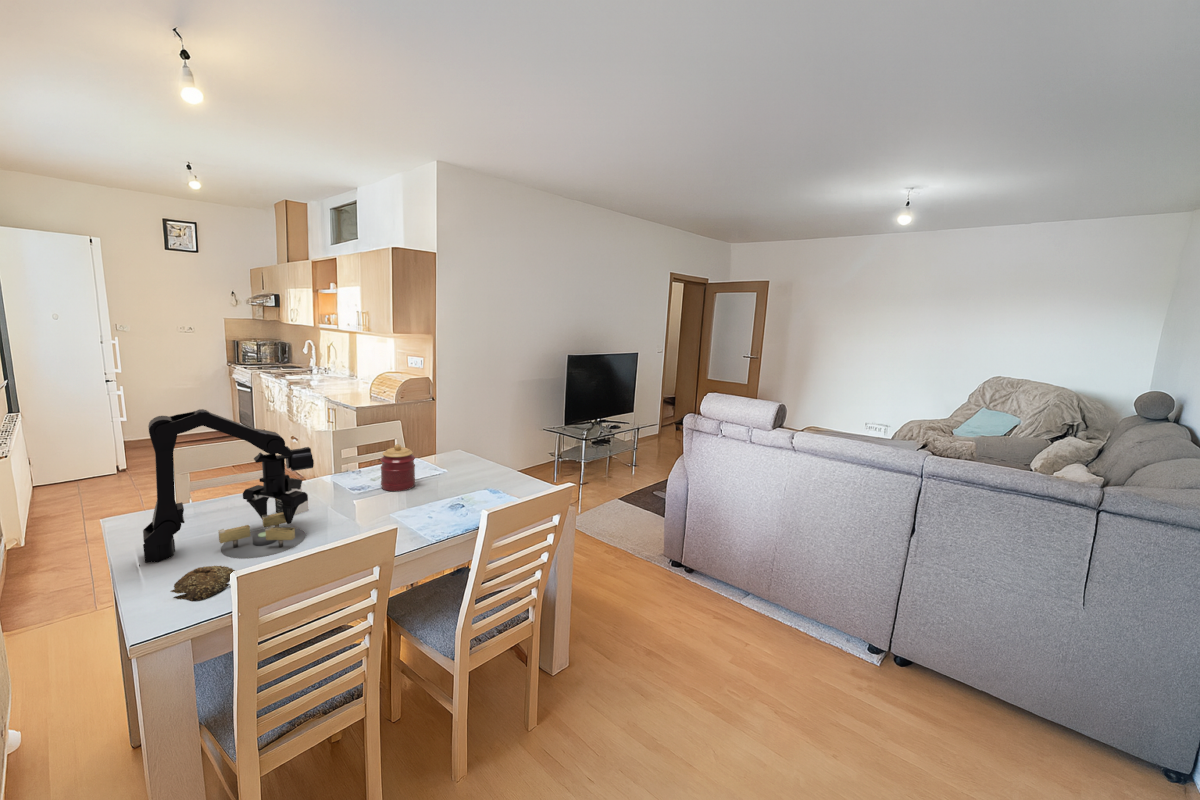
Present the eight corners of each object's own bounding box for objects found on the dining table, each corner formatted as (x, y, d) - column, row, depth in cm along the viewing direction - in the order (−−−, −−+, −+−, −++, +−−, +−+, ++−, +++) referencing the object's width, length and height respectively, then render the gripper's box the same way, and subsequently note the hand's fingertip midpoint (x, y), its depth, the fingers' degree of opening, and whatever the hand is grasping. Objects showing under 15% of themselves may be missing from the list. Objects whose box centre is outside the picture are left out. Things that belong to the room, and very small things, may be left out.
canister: (383, 481, 204) (382, 440, 201) (416, 480, 208) (415, 439, 205) (379, 492, 191) (378, 449, 189) (414, 490, 195) (414, 448, 192)
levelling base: (285, 562, 137) (284, 550, 136) (203, 563, 134) (202, 550, 133) (318, 529, 157) (317, 519, 157) (247, 530, 154) (246, 519, 154)
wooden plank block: (291, 529, 154) (290, 511, 153) (264, 535, 149) (263, 517, 148) (289, 527, 155) (288, 509, 154) (263, 533, 150) (262, 515, 149)
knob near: (292, 548, 142) (291, 528, 141) (266, 548, 141) (265, 529, 140) (295, 545, 144) (294, 526, 143) (269, 545, 143) (268, 526, 142)
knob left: (251, 544, 143) (249, 525, 142) (221, 551, 138) (219, 532, 137) (249, 542, 144) (248, 523, 143) (219, 549, 139) (218, 530, 138)
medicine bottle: (275, 515, 166) (273, 481, 164) (296, 508, 172) (295, 476, 170) (288, 520, 163) (286, 486, 161) (309, 513, 169) (307, 480, 167)
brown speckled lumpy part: (246, 576, 129) (245, 559, 128) (206, 603, 117) (204, 584, 116) (200, 572, 130) (198, 555, 129) (155, 599, 117) (153, 579, 117)
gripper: (320, 469, 155) (322, 516, 157) (271, 462, 159) (274, 508, 161) (291, 480, 144) (293, 530, 147) (239, 472, 148) (243, 521, 151)
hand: (276, 521), depth 152 cm, fingers open, 9 cm apart
